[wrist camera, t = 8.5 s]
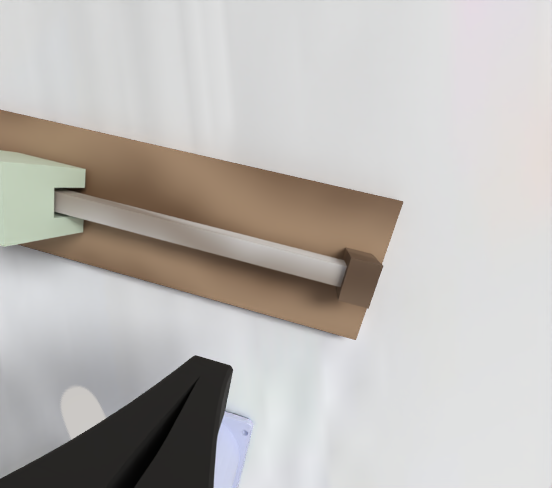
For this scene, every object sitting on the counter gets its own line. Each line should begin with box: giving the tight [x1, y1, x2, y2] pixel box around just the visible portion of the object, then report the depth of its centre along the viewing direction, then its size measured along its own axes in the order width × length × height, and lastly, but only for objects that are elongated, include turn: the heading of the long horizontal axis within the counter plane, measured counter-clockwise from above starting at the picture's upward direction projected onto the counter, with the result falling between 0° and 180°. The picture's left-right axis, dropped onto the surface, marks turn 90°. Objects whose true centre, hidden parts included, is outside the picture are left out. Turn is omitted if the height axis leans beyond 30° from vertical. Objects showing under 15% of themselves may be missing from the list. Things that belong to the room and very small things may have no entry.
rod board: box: [0, 110, 403, 340], centre depth 16 cm, size 9×28×4 cm, turn 77°
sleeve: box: [0, 150, 86, 247], centre depth 15 cm, size 4×5×4 cm
